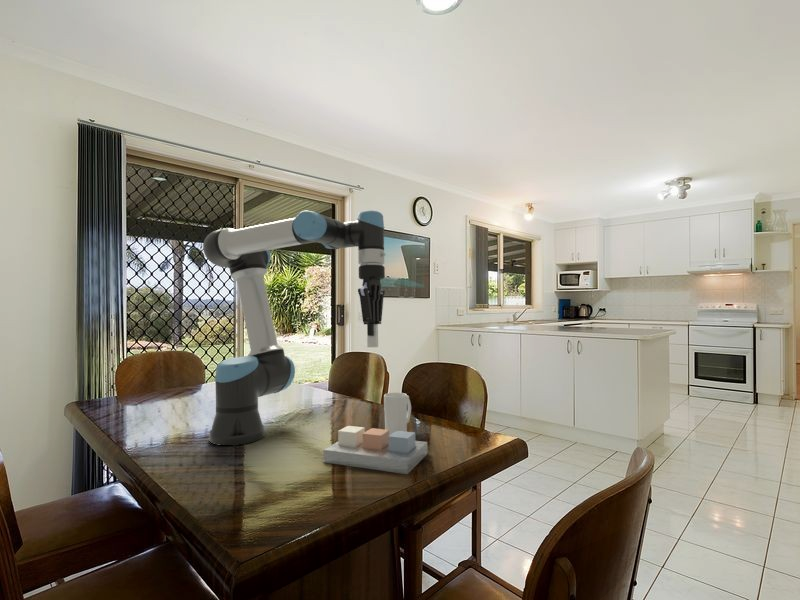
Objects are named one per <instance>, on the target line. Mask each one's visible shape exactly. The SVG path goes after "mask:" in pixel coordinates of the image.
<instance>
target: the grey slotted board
mask: <svg viewBox="0 0 800 600" xmlns="http://www.w3.org/2000/svg"><path fill="white" fill-rule="evenodd" d="M415 443H416V448H415V449H414V450H413V451H412V452H411V453H409V454H405V453H397V452H389V446H387V447H386V448H385V449H383V450H382V451H381V450H373V449H365V448H363V443H362V444H361V445H359V446H358V447H349V446H340V445H338V441H336V442H335V443H332V444H331V445H329V446H327V447H325V448H324V449H323V450H322V455H323V456H322V457H323V463H328V464H334V465H341V466H348V467H353V468H354V467H356V468H360V469H361V468H362V469H369V470H376V471H382V472H388V473H389V472H390V473H396V474H401V475H408V474H409V473H410V472H411V471H412V470H413V469H414V468H415V467H416V466H417V465H418V464H419V463H420V462H421V461H422V460H424V458H425V457H426V456H427V455H428V441H420V440H415Z"/></svg>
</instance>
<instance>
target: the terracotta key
mask: <svg viewBox="0 0 800 600" xmlns="http://www.w3.org/2000/svg"><path fill="white" fill-rule="evenodd" d="M387 446H389V430H385V428H384V429H382V428H374V427H371V428H370V429H368V430H365V432H364V433H363V448H365V449H373V450H381V451H382V450H383V449H385V448H386V447H387Z"/></svg>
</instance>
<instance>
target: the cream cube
mask: <svg viewBox="0 0 800 600" xmlns="http://www.w3.org/2000/svg"><path fill="white" fill-rule="evenodd" d="M364 432H366V428H365V427H364V426H355V425H354V426H353V425H346V426H345V427H343V428H341V429H339V430H337V442H338V445H340V446H349V447H358V446H359V445H361V444H362V443H363V433H364Z"/></svg>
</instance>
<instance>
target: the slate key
mask: <svg viewBox="0 0 800 600" xmlns="http://www.w3.org/2000/svg"><path fill="white" fill-rule="evenodd" d="M415 441H416V432H415V431H414V432H413V431H407V432H405V431H395V432H394V433H393V434H391V435H390V436H389V452H397V453H405V454H409V453H411V452H412V451H413V450H414V449H415V448H416V443H415Z"/></svg>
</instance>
